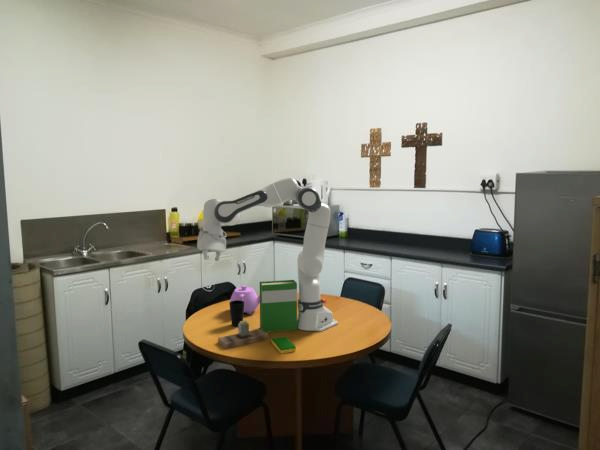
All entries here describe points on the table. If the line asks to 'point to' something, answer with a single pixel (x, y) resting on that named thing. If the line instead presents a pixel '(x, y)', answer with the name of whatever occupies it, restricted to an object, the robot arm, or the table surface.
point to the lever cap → (243, 329)
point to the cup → (236, 312)
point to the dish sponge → (283, 344)
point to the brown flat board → (236, 341)
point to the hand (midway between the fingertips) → (211, 260)
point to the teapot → (246, 298)
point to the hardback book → (278, 305)
